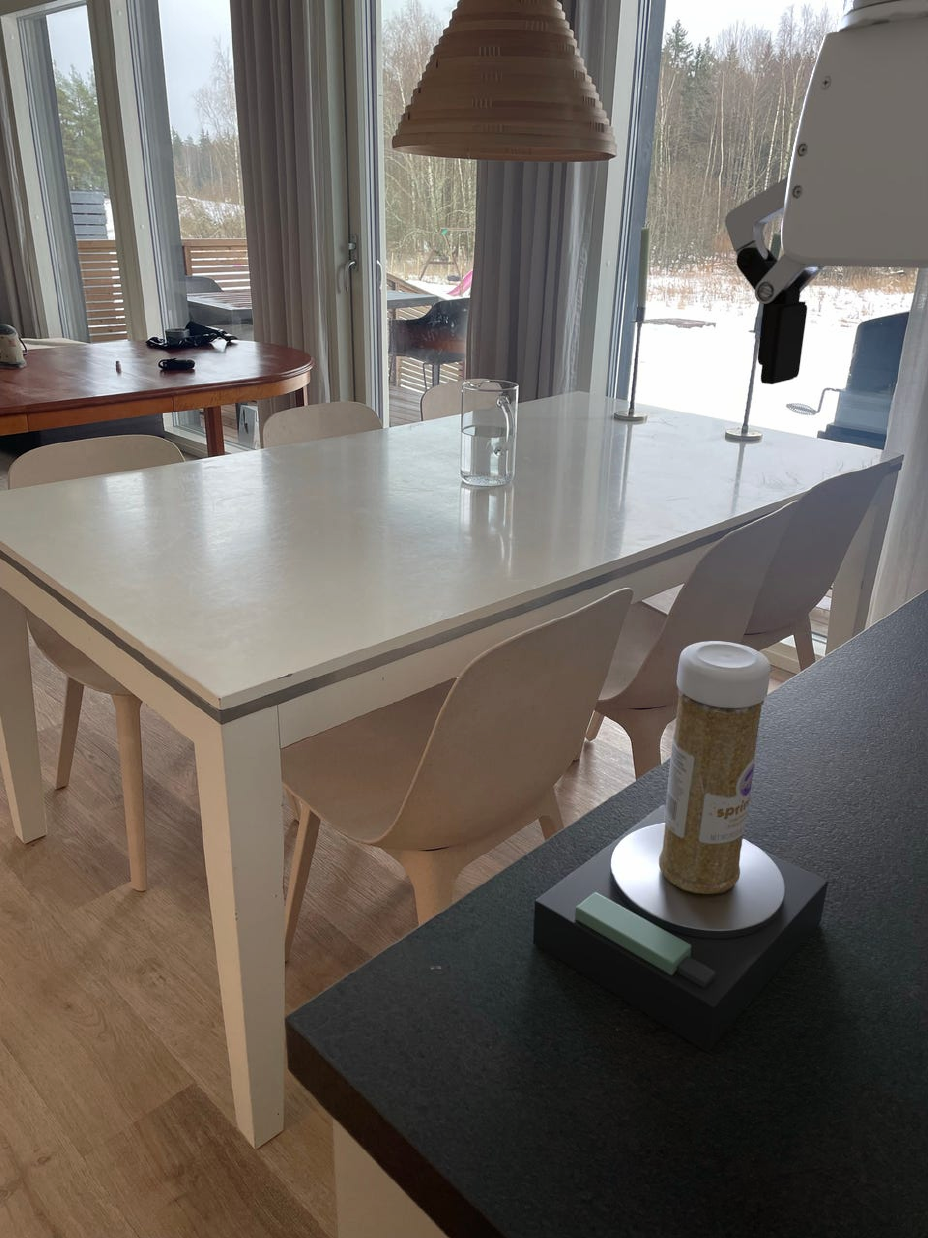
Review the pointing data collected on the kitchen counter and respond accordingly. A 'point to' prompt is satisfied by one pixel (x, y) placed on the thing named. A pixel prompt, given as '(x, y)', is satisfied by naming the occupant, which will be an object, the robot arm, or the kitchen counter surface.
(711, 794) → the sprinkles bottle
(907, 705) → the kitchen counter surface
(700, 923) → the scale pan
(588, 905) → the scale
